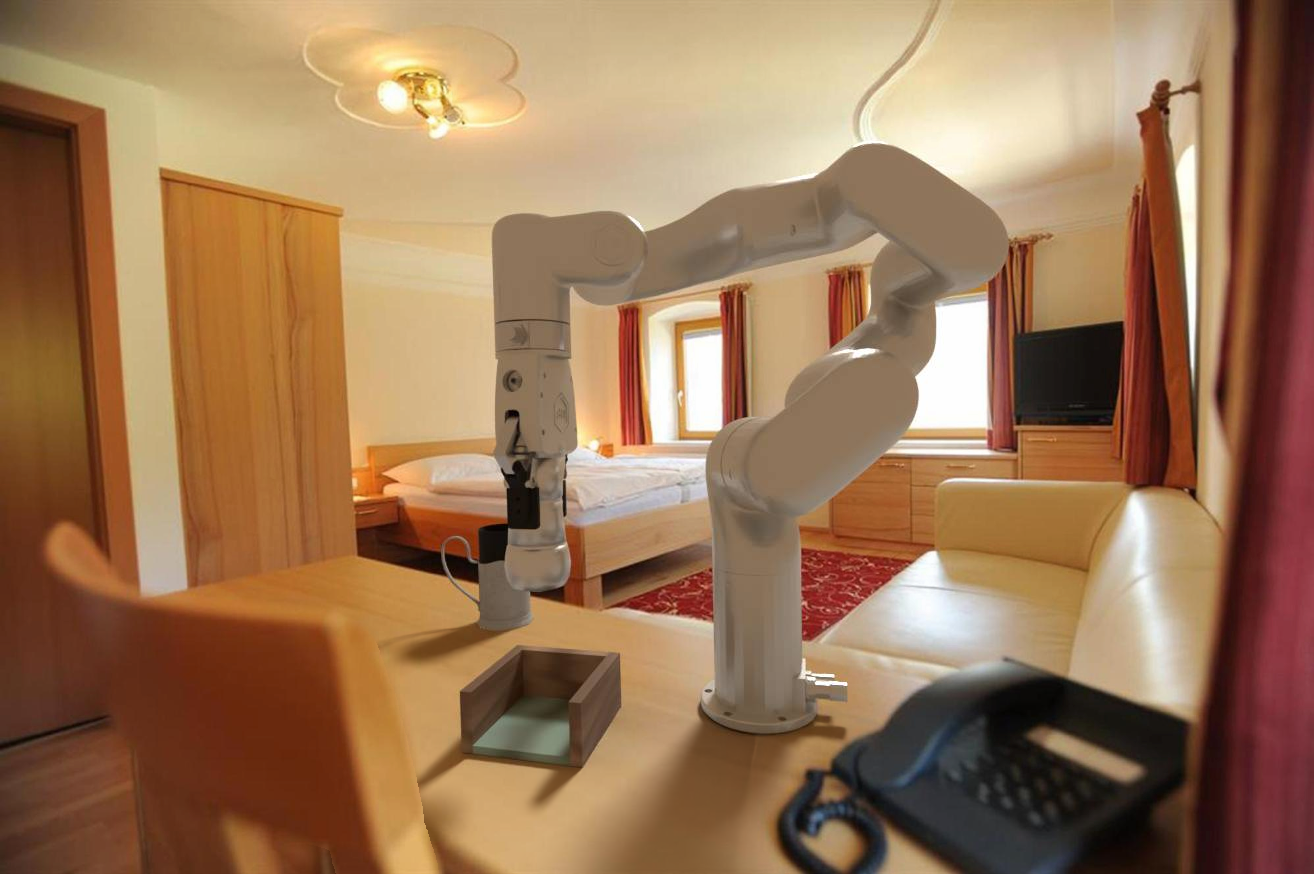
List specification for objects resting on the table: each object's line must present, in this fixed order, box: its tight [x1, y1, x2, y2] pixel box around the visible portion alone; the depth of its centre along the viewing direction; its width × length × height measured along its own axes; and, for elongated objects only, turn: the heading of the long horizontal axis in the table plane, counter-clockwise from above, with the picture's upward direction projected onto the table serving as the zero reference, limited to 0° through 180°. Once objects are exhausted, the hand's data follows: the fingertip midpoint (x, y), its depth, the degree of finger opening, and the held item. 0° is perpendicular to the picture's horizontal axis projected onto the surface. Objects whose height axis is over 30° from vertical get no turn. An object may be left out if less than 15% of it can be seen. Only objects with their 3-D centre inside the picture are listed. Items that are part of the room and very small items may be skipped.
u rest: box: [459, 644, 622, 768], centre depth 63 cm, size 12×12×6 cm
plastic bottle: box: [504, 441, 572, 593], centre depth 62 cm, size 6×7×20 cm
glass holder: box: [440, 522, 534, 632], centre depth 96 cm, size 9×14×15 cm, turn 90°
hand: (538, 520), depth 62 cm, fingers closed on plastic bottle, 5 cm apart
